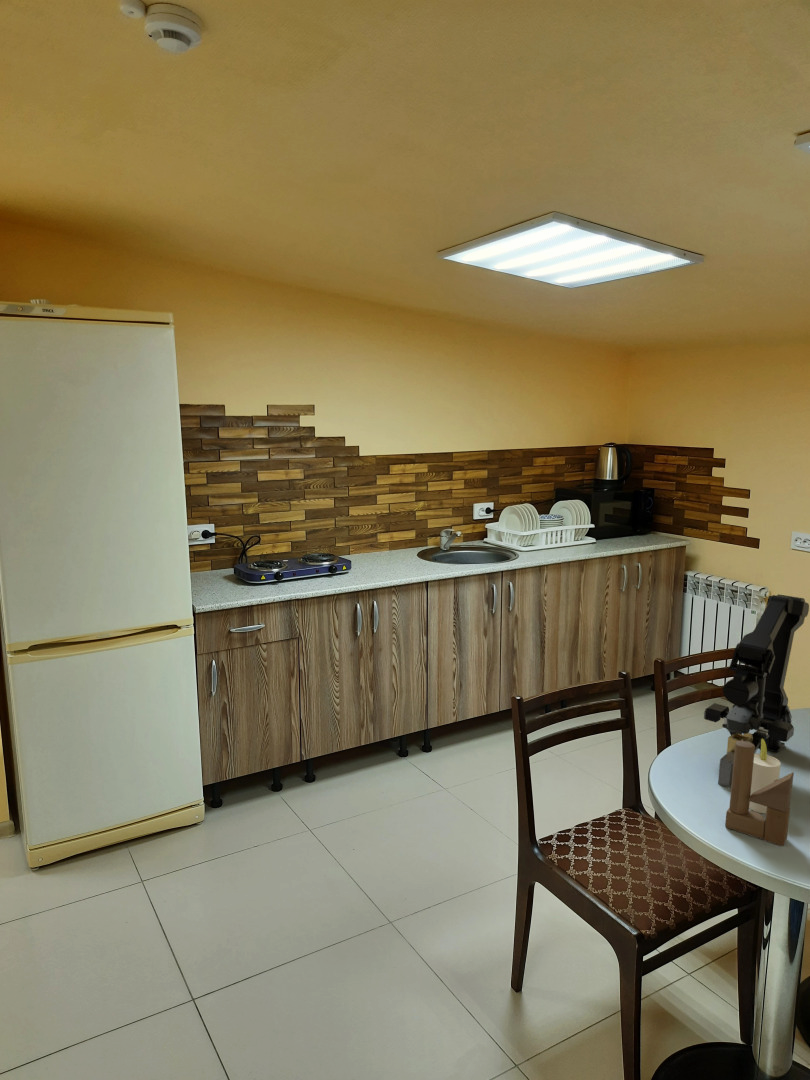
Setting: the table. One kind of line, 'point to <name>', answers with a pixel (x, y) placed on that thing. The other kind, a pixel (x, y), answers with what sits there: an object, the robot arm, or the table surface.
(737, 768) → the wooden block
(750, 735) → the square hoop paddle
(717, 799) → the table surface
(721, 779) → the block with metal peg
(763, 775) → the candle
